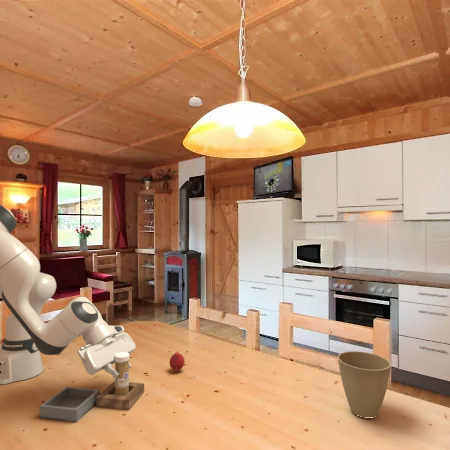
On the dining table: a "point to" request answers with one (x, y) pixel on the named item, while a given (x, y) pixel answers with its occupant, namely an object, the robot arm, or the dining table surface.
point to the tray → (69, 404)
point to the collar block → (120, 397)
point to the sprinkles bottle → (122, 373)
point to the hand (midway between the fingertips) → (123, 372)
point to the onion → (177, 361)
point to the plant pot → (364, 381)
